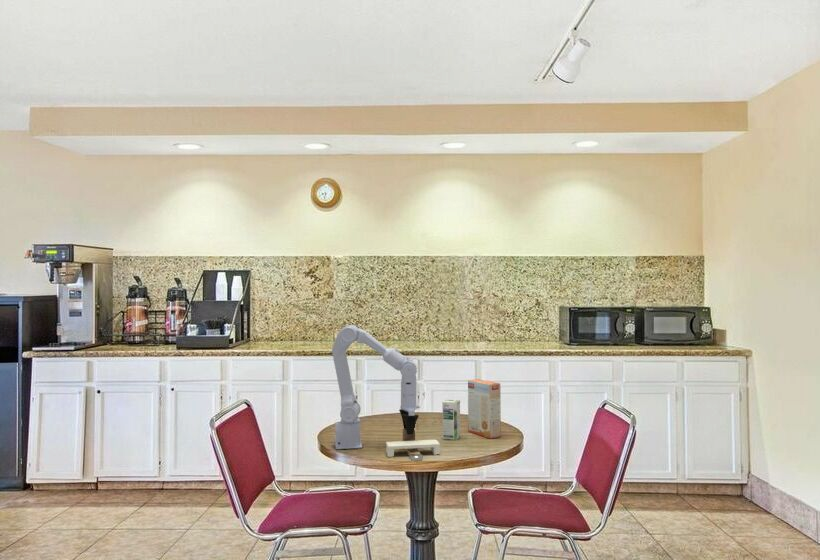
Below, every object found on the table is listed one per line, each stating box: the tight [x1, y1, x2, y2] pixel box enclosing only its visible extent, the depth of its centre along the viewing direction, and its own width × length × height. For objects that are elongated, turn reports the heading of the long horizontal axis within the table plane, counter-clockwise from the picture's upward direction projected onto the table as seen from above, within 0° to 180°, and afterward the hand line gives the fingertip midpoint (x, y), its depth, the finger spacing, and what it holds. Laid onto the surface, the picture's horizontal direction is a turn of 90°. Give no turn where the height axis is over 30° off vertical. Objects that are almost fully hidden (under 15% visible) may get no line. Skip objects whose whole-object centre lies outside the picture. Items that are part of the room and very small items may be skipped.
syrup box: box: [441, 398, 461, 441], centre depth 214 cm, size 6×6×14 cm
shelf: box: [385, 439, 441, 458], centre depth 193 cm, size 18×6×4 cm, turn 99°
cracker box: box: [467, 378, 502, 439], centre depth 219 cm, size 14×6×21 cm, turn 31°
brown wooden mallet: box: [402, 428, 421, 457], centre depth 197 cm, size 4×16×6 cm, turn 9°
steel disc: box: [409, 453, 424, 461], centre depth 187 cm, size 4×4×1 cm
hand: (408, 431), depth 202 cm, fingers open, 7 cm apart
